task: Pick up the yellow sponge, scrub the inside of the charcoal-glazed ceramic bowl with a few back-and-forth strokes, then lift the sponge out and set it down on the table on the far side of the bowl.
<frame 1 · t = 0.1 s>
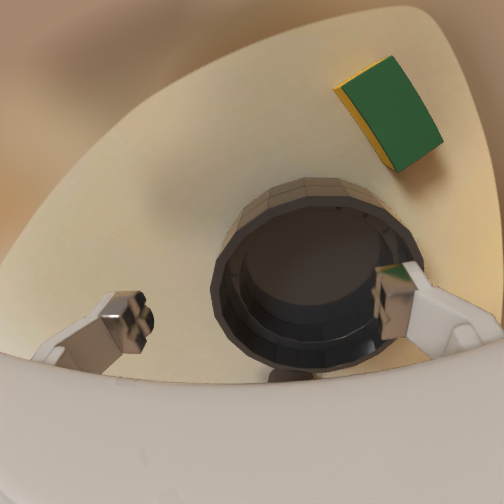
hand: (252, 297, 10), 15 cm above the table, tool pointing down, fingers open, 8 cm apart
coffee cup: (290, 376, 34), on the table
bowl: (315, 266, 26), on the table
sponge: (381, 112, 19), on the table
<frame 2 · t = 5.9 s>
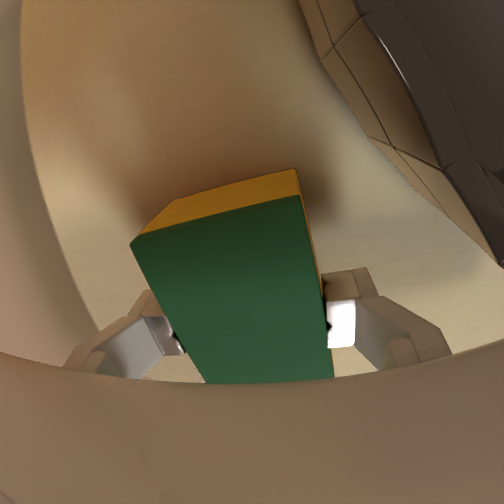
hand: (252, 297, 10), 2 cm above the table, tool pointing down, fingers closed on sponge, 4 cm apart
bowl: (496, 32, 5), on the table
sponge: (257, 270, 11), on the table, touching gripper
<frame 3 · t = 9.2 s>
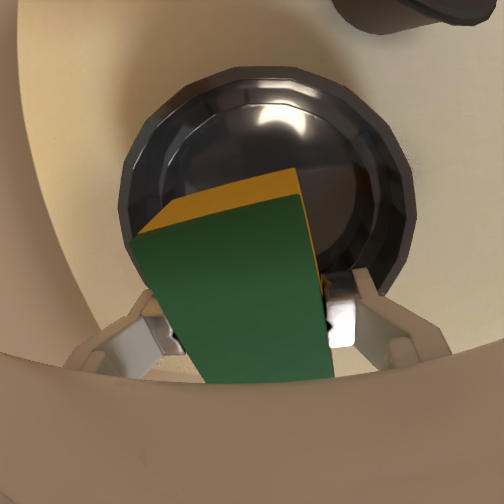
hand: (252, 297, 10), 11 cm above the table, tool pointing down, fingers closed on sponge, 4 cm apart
coffee cup: (369, 2, 12), on the table
bowl: (268, 198, 20), on the table
sponge: (257, 269, 11), point 10 cm above the table, touching gripper
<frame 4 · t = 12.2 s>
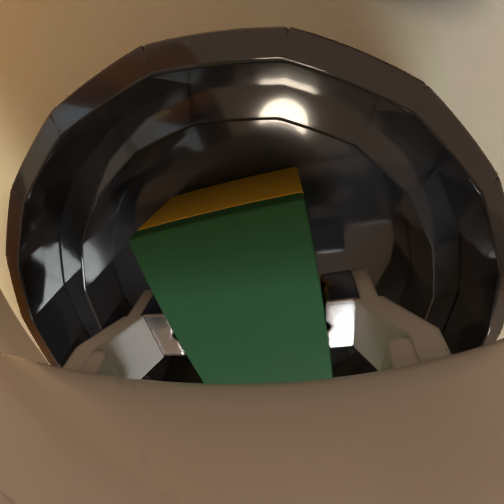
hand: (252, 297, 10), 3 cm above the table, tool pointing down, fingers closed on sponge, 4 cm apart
bowl: (257, 273, 12), on the table
sponge: (256, 268, 11), point 1 cm above the table, touching gripper
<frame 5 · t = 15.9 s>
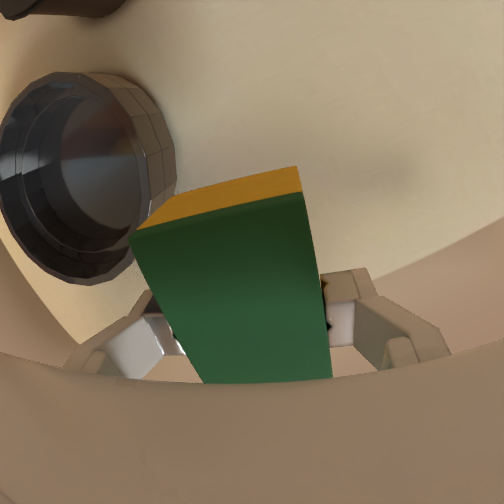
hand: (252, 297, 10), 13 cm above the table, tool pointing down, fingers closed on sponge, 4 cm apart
bowl: (92, 168, 21), on the table
sponge: (256, 268, 11), point 11 cm above the table, touching gripper
when the fingers open (2 cm above the table, at t = 18.8 s): sponge stays where it is, on the table.
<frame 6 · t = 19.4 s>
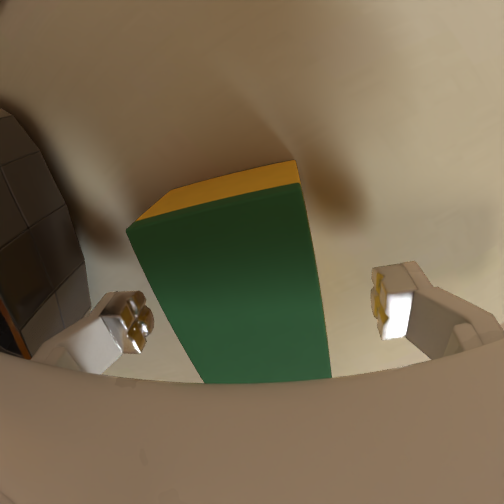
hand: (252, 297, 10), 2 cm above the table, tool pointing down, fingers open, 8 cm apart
sponge: (255, 262, 11), on the table
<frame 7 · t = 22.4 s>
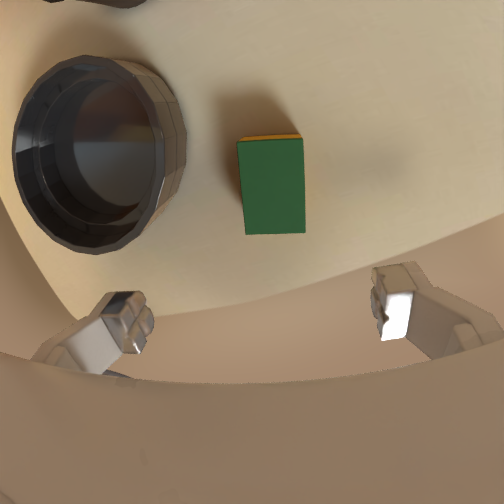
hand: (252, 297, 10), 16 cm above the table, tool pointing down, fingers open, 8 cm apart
bowl: (107, 147, 23), on the table
sponge: (274, 177, 23), on the table
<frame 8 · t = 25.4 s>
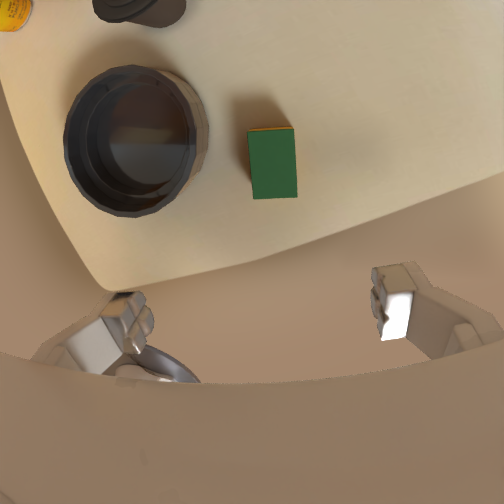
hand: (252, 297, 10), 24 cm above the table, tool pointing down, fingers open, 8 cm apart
coffee cup: (164, 9, 23), on the table
bowl: (143, 136, 31), on the table
sponge: (273, 158, 31), on the table
beer can: (22, 15, 21), on the table
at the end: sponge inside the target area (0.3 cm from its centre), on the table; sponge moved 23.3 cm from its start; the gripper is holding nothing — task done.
